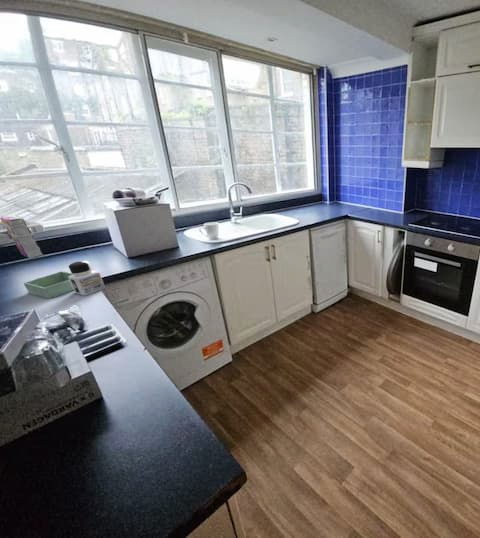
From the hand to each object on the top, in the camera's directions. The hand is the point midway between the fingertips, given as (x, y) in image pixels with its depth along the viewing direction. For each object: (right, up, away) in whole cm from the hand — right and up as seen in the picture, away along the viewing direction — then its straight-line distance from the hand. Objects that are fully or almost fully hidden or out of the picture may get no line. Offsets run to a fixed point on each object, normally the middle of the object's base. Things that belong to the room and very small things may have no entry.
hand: (20, 234), depth 123 cm
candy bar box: (+2, -9, +3) cm, 9 cm away
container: (+26, -24, +4) cm, 36 cm away
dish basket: (+10, -23, +6) cm, 26 cm away
